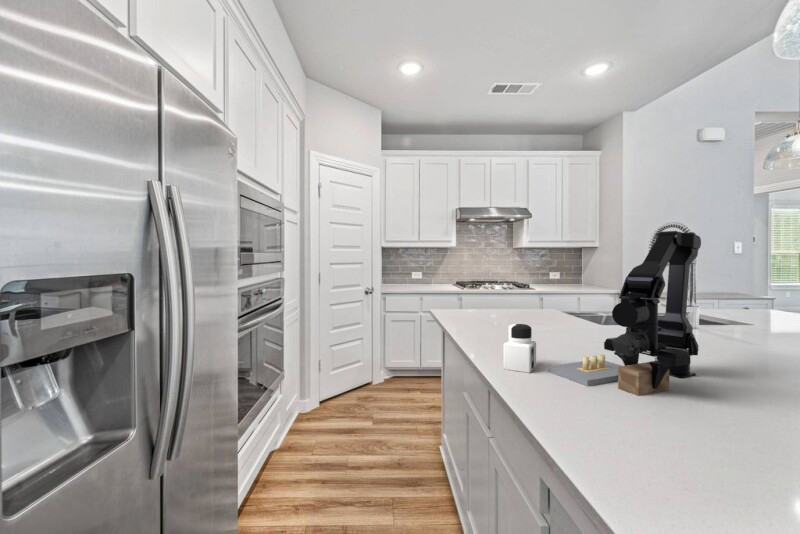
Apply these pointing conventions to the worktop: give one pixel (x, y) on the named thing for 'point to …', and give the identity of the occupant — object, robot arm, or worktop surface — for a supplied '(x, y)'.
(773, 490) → the worktop surface
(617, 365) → the pin board
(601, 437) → the worktop surface
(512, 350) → the container
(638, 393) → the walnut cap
